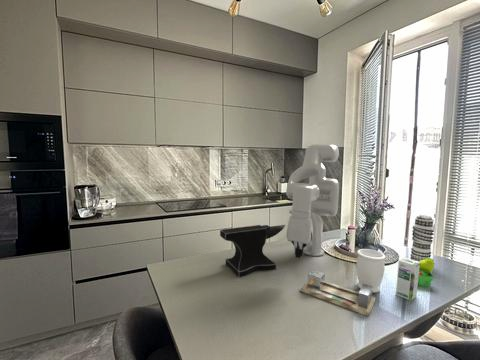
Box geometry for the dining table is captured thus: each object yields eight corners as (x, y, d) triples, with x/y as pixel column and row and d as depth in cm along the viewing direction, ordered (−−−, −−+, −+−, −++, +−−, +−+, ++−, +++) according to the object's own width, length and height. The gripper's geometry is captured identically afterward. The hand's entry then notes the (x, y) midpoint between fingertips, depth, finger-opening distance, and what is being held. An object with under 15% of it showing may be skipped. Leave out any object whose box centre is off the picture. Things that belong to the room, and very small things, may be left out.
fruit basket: (404, 274, 119) (407, 251, 118) (427, 277, 116) (429, 254, 115) (412, 285, 108) (414, 260, 107) (437, 289, 105) (440, 264, 104)
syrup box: (394, 294, 101) (398, 259, 99) (400, 290, 104) (404, 256, 103) (411, 301, 96) (414, 265, 94) (417, 296, 100) (420, 261, 98)
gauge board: (300, 291, 102) (300, 287, 101) (312, 279, 111) (312, 276, 111) (368, 316, 87) (369, 312, 86) (375, 300, 96) (375, 296, 96)
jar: (381, 297, 98) (385, 260, 97) (353, 289, 104) (355, 254, 102) (383, 285, 107) (386, 251, 106) (356, 278, 113) (359, 246, 111)
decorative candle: (407, 263, 131) (412, 216, 128) (410, 257, 138) (414, 213, 135) (429, 268, 125) (435, 219, 122) (431, 262, 132) (436, 216, 129)
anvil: (228, 280, 109) (229, 236, 107) (216, 266, 122) (216, 227, 120) (293, 265, 125) (294, 227, 123) (275, 254, 138) (277, 220, 136)
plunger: (304, 289, 100) (304, 277, 100) (312, 281, 107) (313, 269, 107) (316, 293, 97) (317, 281, 97) (324, 284, 104) (324, 273, 104)
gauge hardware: (306, 287, 102) (307, 275, 102) (313, 279, 108) (314, 268, 108) (367, 309, 89) (368, 295, 88) (371, 299, 95) (372, 286, 94)
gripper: (280, 213, 107) (278, 254, 109) (315, 219, 98) (312, 264, 100) (288, 210, 113) (286, 250, 114) (321, 216, 104) (319, 259, 105)
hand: (298, 256), depth 107 cm, fingers closed
